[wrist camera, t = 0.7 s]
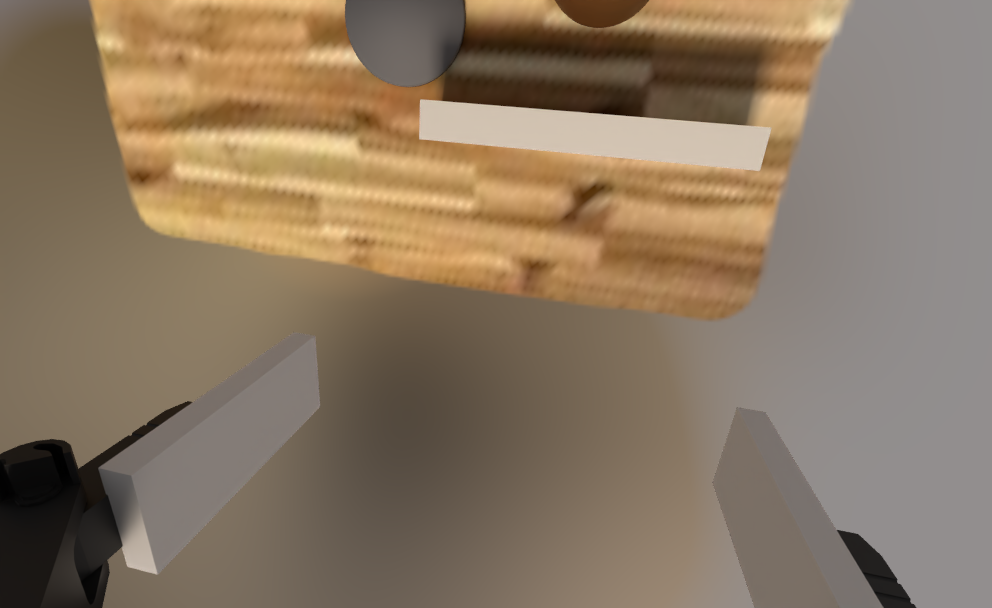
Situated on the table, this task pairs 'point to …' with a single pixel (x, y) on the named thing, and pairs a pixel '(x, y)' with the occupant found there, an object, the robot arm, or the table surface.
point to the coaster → (406, 37)
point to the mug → (600, 11)
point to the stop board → (595, 134)
